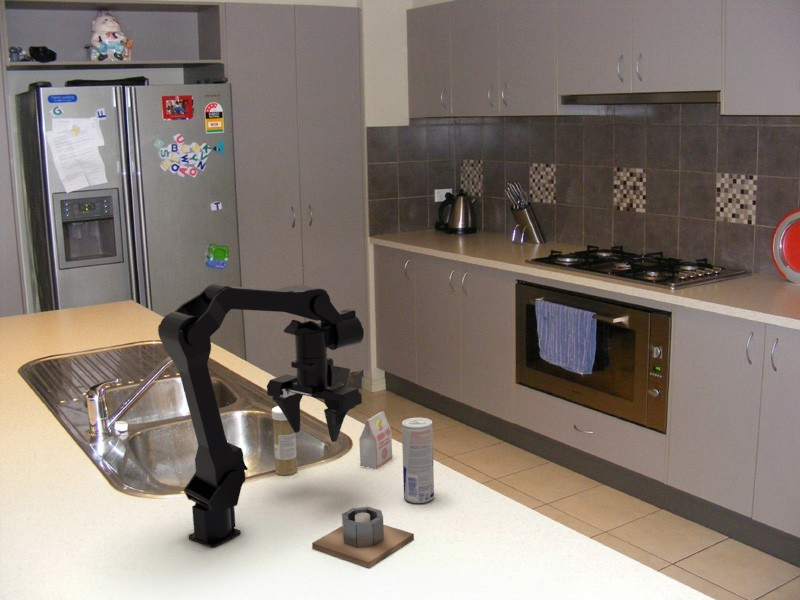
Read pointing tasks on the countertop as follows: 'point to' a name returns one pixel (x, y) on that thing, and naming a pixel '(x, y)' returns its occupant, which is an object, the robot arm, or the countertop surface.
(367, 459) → the mini juice carton
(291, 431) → the sprinkles bottle
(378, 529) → the ring
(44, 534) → the countertop surface
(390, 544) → the brown peg base
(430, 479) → the beverage can
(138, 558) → the countertop surface
